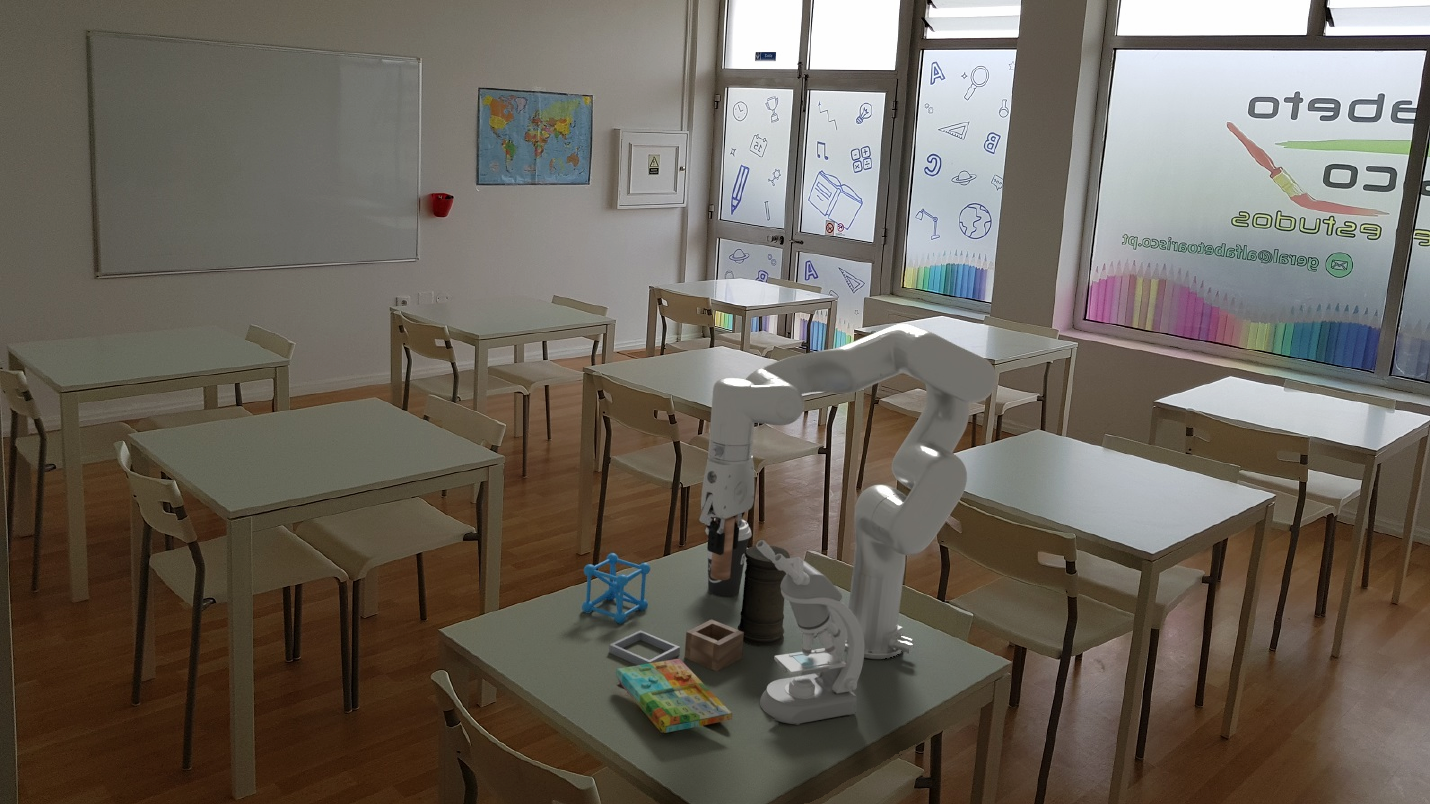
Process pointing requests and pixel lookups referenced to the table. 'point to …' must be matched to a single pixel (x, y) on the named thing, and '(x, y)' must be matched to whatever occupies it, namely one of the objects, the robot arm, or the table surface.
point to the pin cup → (714, 645)
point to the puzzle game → (672, 695)
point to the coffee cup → (737, 563)
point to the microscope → (833, 676)
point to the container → (762, 600)
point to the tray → (670, 648)
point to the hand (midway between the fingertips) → (722, 548)
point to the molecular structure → (615, 587)
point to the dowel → (723, 562)
